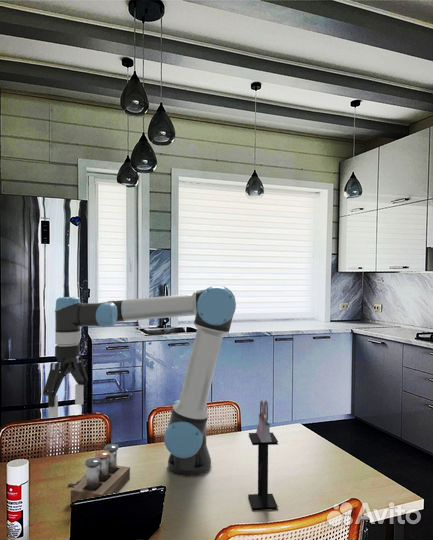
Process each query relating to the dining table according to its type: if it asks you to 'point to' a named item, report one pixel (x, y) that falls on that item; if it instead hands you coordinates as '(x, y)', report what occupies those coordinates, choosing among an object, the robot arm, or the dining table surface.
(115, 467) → the plunger right
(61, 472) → the dining table surface
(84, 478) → the tactical tomahawk
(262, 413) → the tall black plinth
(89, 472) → the plunger left
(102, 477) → the plunger mid
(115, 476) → the block
